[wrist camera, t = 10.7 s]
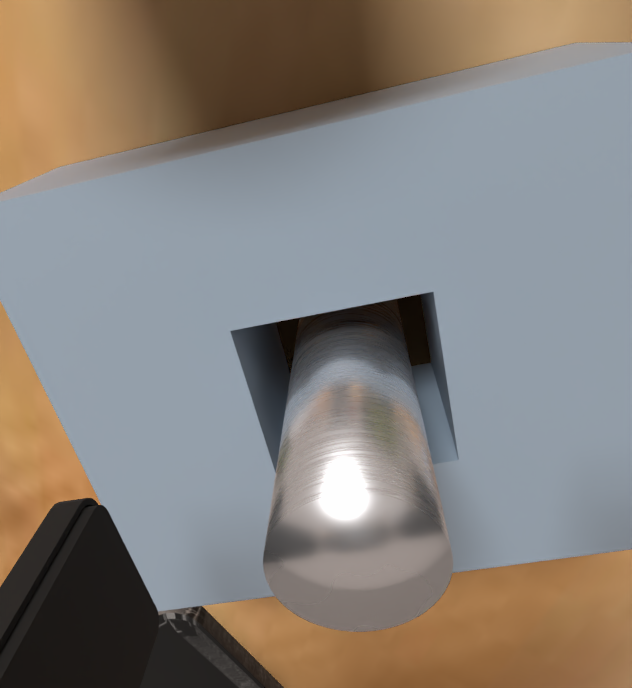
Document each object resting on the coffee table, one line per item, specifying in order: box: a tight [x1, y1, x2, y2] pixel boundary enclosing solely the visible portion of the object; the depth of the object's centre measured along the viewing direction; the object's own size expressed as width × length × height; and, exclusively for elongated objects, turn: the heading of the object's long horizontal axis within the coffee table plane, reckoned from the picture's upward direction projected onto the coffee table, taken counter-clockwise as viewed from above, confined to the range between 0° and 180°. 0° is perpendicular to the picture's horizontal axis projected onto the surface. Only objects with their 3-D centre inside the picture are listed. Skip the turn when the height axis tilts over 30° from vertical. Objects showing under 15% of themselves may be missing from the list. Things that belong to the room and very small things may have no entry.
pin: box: [263, 299, 453, 632], centre depth 14 cm, size 3×3×10 cm
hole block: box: [0, 42, 632, 611], centre depth 16 cm, size 14×12×5 cm
